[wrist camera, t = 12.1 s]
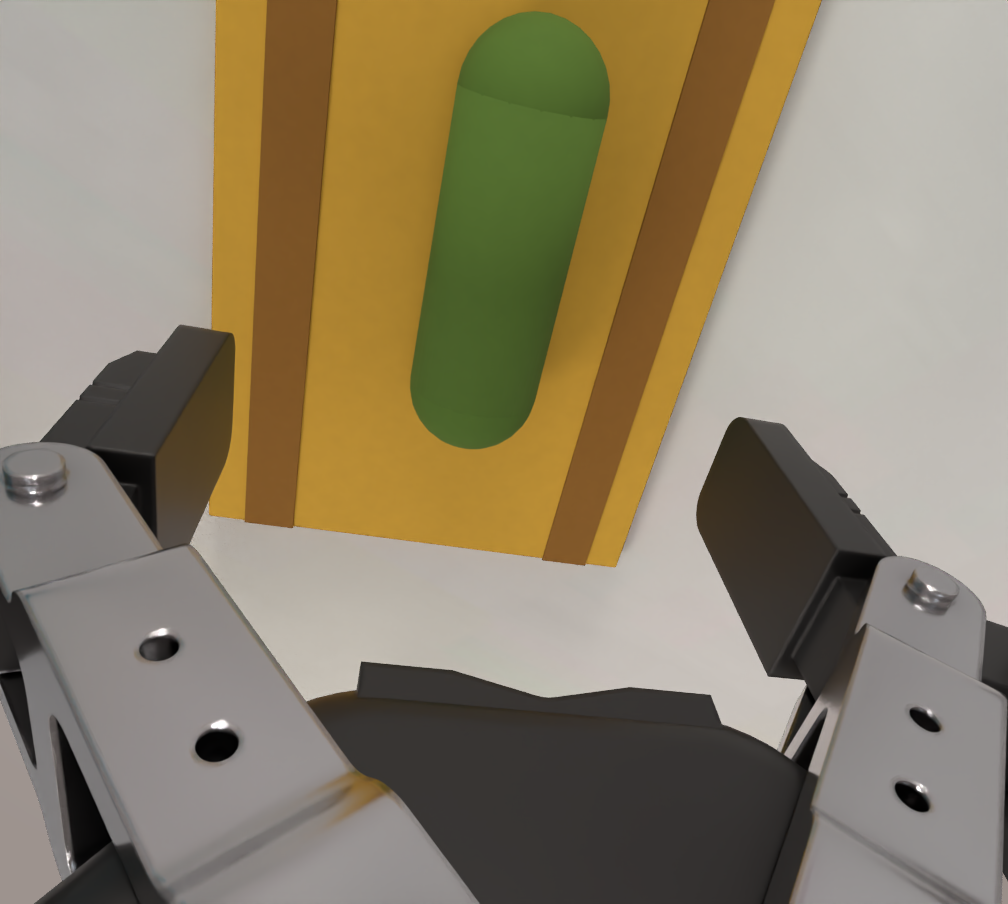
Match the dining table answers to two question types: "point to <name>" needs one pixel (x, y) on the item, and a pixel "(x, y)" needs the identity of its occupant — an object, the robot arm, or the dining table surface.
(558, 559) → the towel
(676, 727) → the robot arm
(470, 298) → the pickle
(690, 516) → the dining table surface
